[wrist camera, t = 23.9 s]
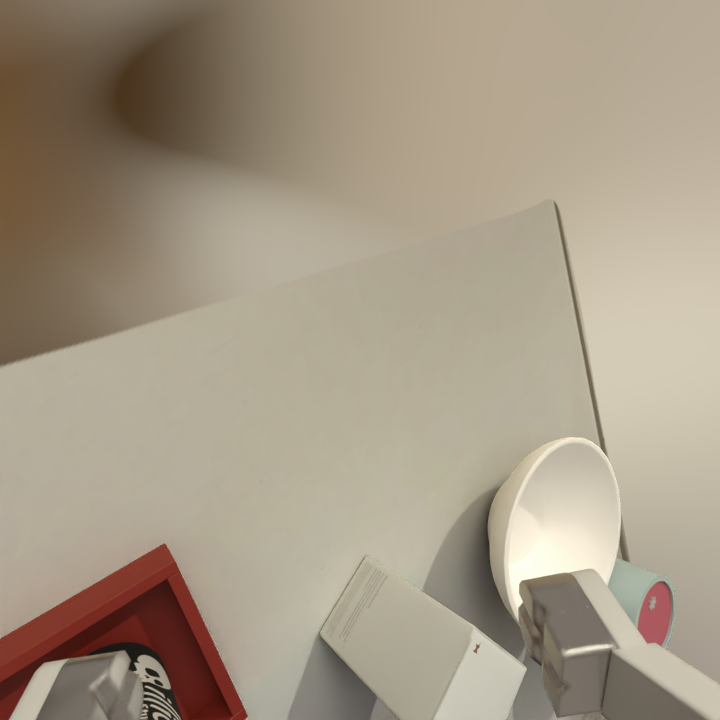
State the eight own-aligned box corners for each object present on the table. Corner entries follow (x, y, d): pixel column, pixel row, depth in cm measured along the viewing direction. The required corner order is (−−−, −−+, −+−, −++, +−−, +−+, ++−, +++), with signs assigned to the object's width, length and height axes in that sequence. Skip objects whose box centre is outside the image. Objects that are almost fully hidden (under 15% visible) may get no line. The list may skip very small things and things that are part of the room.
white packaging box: (315, 634, 37) (418, 746, 26) (366, 551, 40) (478, 624, 29) (371, 668, 40) (483, 782, 29) (414, 590, 43) (531, 668, 32)
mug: (550, 543, 54) (639, 578, 46) (592, 541, 59) (679, 572, 51) (535, 664, 53) (624, 722, 45) (579, 651, 58) (667, 701, 50)
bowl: (564, 422, 56) (622, 429, 50) (562, 581, 56) (620, 607, 50) (449, 435, 45) (506, 447, 39) (446, 633, 45) (503, 674, 39)
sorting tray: (-74, 681, 24) (-89, 720, 21) (164, 542, 30) (174, 560, 28) (36, 847, 27) (34, 900, 24) (233, 688, 33) (248, 717, 31)
